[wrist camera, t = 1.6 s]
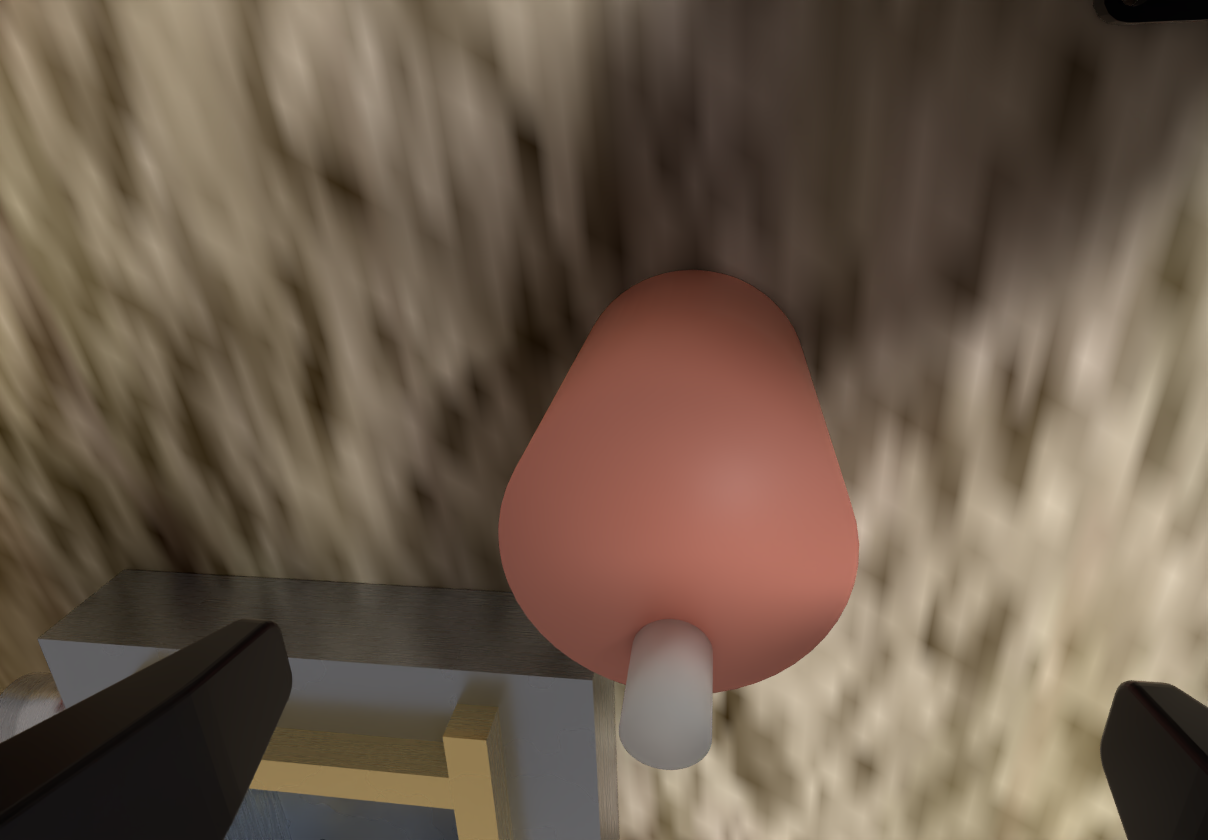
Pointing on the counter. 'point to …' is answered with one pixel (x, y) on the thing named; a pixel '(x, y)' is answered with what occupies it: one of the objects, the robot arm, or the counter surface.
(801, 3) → the counter surface
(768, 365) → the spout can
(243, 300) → the counter surface
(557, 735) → the grey and gold frame
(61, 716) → the robot arm
